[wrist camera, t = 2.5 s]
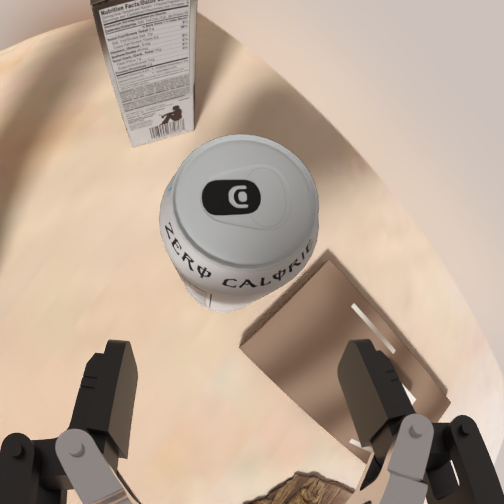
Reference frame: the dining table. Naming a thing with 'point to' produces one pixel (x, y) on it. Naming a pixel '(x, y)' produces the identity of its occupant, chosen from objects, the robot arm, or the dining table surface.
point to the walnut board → (333, 353)
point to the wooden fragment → (308, 492)
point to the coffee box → (150, 63)
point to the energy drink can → (239, 220)
